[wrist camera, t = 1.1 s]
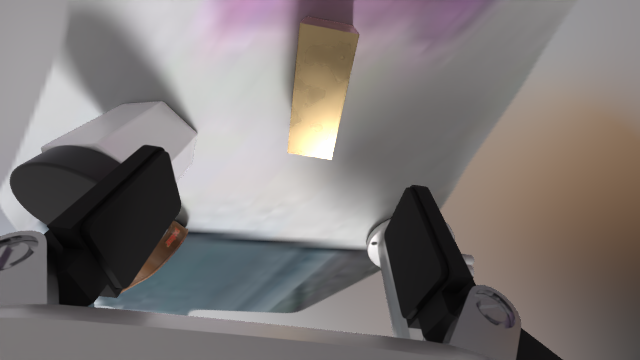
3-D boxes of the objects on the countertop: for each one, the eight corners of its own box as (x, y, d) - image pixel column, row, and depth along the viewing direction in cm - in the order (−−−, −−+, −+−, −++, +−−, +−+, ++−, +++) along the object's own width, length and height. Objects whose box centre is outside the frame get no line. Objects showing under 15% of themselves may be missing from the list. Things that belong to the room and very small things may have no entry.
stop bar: (352, 25, 21) (359, 34, 17) (331, 130, 27) (331, 159, 23) (306, 16, 21) (299, 22, 16) (295, 124, 27) (287, 152, 22)
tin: (143, 255, 42) (108, 304, 36) (126, 245, 41) (85, 295, 34) (198, 220, 37) (168, 271, 30) (180, 207, 35) (144, 258, 28)
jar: (141, 167, 31) (57, 245, 21) (102, 103, 26) (-30, 167, 17) (210, 163, 30) (155, 242, 21) (183, 97, 26) (95, 159, 16)
